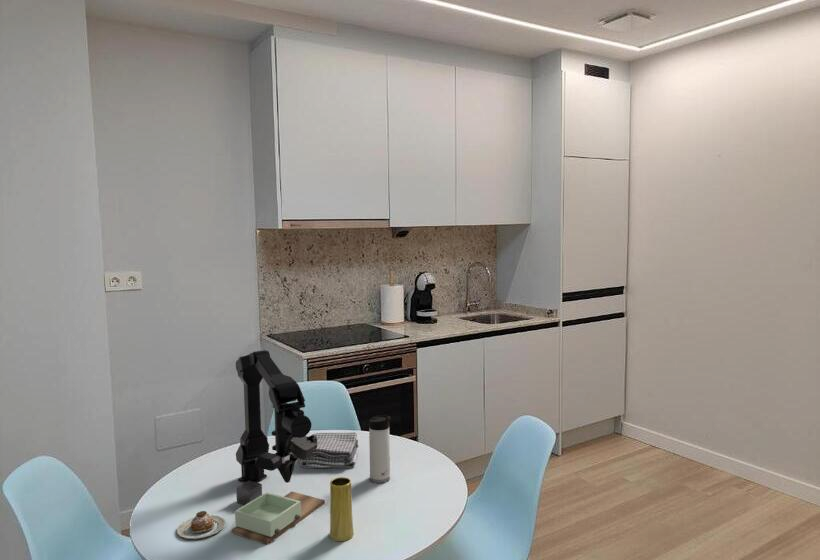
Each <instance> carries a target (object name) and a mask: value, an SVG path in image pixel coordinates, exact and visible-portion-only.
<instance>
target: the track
mask: <svg viewBox="0 0 820 560" xmlns="http://www.w3.org/2000/svg"><path fill="white" fill-rule="evenodd" d="M283 497H286V498H290V499H294V500H297V501H301V516H300V519H299V520H297V519H296V520H294V521H293V522H292V523H290V524H289V525H287V526H286V527H284V528H283V529H282V530H280V533H279V534H275V535H273V536H272V537H269V536H266V535H263V534H260V533H257V532H253V531H250V530H247V529H244V528H241V527H237V526H235V527H233V528H231V533H232V534H233V535H238V536H240V537H243V538H245V539H246V538H247V539H249V540H252V541H255V542H258V541H259V542H260V543H261V542H262V544H266V545H269V544H271V541H272V542H273V541H275V540H276V539H277V538H279V537H280V536H282V535H283V534H284V533H286V532H287V531H289V530H290V529H292V527H294V526H296V525H297V524H298V523H299V522H301V521H303V520H304V519H306V517H308V516H310V515H311V514H313V513H314V512H315V511H317V510H318V509H319V508H321V507H322V506H323V505H325V504H326V499H322V498H320V497H319V498H318V497H314V496H312V495H311V496H310V495H306V494H303V493H300V492H295V491H290V492H288V493H287V494H286V495H283ZM274 539H275V540H274Z"/></svg>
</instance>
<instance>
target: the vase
mask: <svg viewBox="0 0 820 560" xmlns="http://www.w3.org/2000/svg"><path fill="white" fill-rule="evenodd" d="M329 487H330V488H329V489H330V506H329V507H330V509H329V511H330V513H329V514H330V518H329V538H330V539H331V540H333V541H336V542H345V541H348V540H351V539H352V538H353V536H354V534H355V531H354V526H353V525H354V523H353V505H352V501H353V500H352V481H351V478H348V477H344V476H341V477H340V476H339V477H335V478H332V479H331V480H330V483H329Z"/></svg>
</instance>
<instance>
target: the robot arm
mask: <svg viewBox="0 0 820 560" xmlns="http://www.w3.org/2000/svg"><path fill="white" fill-rule="evenodd" d="M235 370H236V372H237V377H238V378H239V379H240V381H241V382H242V383H243V398H244V399H243V400H244V403H243V404H244V405H243V406H244V431H243V433H242V434H241V436H240V437H239V438H240V439H239V440H240V441H239V443H240V444H239V446H238V448H237V450H236V452H235V459H236V462H237V463H239V464H240V466H241V476H240V477H239V478H237V481H238V482H239V481H240V482H243V483H245V482H247V481H253V482H257V483H259V482H260V481H262V480H264V479H265V478H267V477H268V474H265V470H266V471H270V472H271V471H275V470H278V472H279V474H280V476H281V478H282V479H283V481H284V483H290V482H291V479H292V475H293V473H294V469H295V466H296V464H297V462H298V460H301V461H302V460H305V459H306V458H308V457H310V456H312V455H313V451H314V449H316V448H317V447H318V446H317V436H315V435H314V434H315V433H313V434H311V435H309V436H307V435H308V434H309V433H310V431H311V430H312V421H311V419H310V418H309V417H308V416H306V415H305V411H304V410H302V409H303V408H305V407H306V404H305V402H306V400H305V397H304V395H303V392H302V389H301V386H300V385H299V384H298V382H297V381H296V380H295V379H294V378H293V377H291V376H288V375H286V374H284V373H283V372H282V371H281V369H280V368H279V367H278V365H277V364H276V362H275V361H274V360H273V358H272V357H271V354H270V352H269V350H266V349H264V350H257V351H256V350H255V351H253V352H250V353H249V354H247V355H243V356H242V355H241V356H239V357H238V359H237V360H236V361H235ZM263 380H264V381H265V383H266V384H267V386H268V387H269V388H268V396H269V399H270V402H271V404H272V408H274V411H273V412H274V413H273V414H274V430H273V431H271V436H274V438H275V439H274V441H275V442H274V443H275V444H274V445H273V446H271V448H272V449H271V450H272V451H275V452H274V453H271V452H270V451H269V450H270V443H269V442H268V437H267V435H266V434H265V433H264V431H263V430H262V418H261V417H262V416H261V392H260V391H261V389H260V388H261V387H260V384H261V382H262V381H263Z"/></svg>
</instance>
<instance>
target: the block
mask: <svg viewBox="0 0 820 560" xmlns="http://www.w3.org/2000/svg"><path fill="white" fill-rule="evenodd" d="M235 490H236V491H235V493H236V504H237V505H238V506H239V505H240V506H242V507H243V506H244V505H246V504H248V503H249V502H251V501H253V500H254V499H256V498H258V497H259V496H261V495H263V484H262V483H259V482H253V481H247V482H243V483H241V484H240V485H238V486H236V488H235Z"/></svg>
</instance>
